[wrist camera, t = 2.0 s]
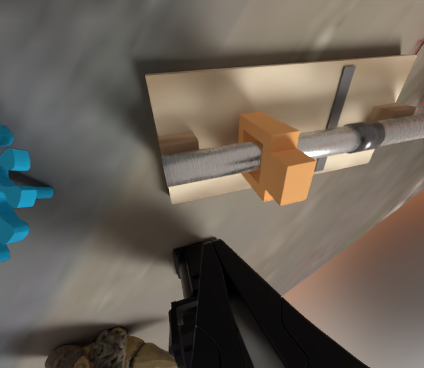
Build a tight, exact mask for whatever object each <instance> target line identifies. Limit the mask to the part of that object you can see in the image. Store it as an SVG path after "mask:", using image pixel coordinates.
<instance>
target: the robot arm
mask: <svg viewBox="0 0 424 368" xmlns="http://www.w3.org/2000/svg"><path fill="white" fill-rule="evenodd" d="M173 257H174V261H175V265H176V269H177V273H178V277H179V279H181V283H182V289H183V295H184V299H183V300H180V301H177V302H176V301H174V302H171V307H172V309H171V310H170V311H169V323H170V334H169V355H170V356H171V357H172V358H174V359H175V363H176V365H177V367H178V368H370V367H368V366H367V365H365V364H364V363H362V362H361V361H360V360H358V359H357V358H356V357H354V356H353V355H352V354H351V353H349V352H348V351H347V350H345V349H344V348H343V347H342V346H340V345H339V344H338V343H337V342H335V341H334V340H333V339H331V338H330V337H329V336H328V335H326V334H325V333H324V332H322V331H321V330H320V329H319V328H317V327H316V326H315V325H314V324H312V323H311V322H310V321H309V320H308V319H306V318H305V317H304V316H303V315H302V314H301V313H299V312H298V311H297V310H296V309H295V308H294V307H293V306H292V305H290V304H289V303H288V302H287V301H286V300H285V299H284V298H283V297H281V295H280V294H279V293H278V292H277V291H276V290H274V289H273V288H272V287H271V286H270V285H269V284H268V283H267V282H266V281H265V280H264V279H263V278H262V277H261V276H260V275H259V274H257V273H256V272H255V271H254V270H253V269H252V268H251V267H250V266H249V265H248V264H247V263H246V262H245V261H244V260H243V259H242V258H240V257H239V256H238V255H237V254H236V253H235V252H234V251H233V250H232V249H231V248H230V247H229V246H228V245H227V244H226V243H225V242H224V241H222V240H221V239H214V240H210V241H206V242H203V243H199V244H195V245H191V246H187V247H183V248H179V249H176V250H174V251H173Z"/></svg>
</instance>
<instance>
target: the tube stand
mask: <svg viewBox="0 0 424 368" xmlns="http://www.w3.org/2000/svg"><path fill="white" fill-rule="evenodd" d="M416 56H417V55H391V56H378V57H365V58H352V59H339V60H325V61H312V62H299V63H286V64H273V65H259V66H246V67H233V68H220V69H207V70H193V71H180V72H167V73H154V74H145V77H146V82H147V87H148V92H149V96H150V101H151V106H152V111H153V116H154V120H155V125H156V130H157V135H158V141H159V147H160V151H161V158H162V163H163V168H164V173H165V178H166V183H167V187H168V188H169V192H170V197H171V202H172V204H177V203H182V202H187V201H191V200H196V199H201V198H205V197H210V196H215V195H219V194H224V193H229V192H234V191H238V190H243V189H248V188H252V187H251V185H250V184H249V183H248V182H247V181H246V179H245V178H244V177H243V176H242V174H241V173H244V172H249V171H255V170H260V169H261V160H262V150H263V144H262V143H261V142H259V141H258V140H255V141H249V142H242V143H238V138H239V114H245V113H253V112H263V113H265V114H267V115H269V116H271V117H273V118H275V119H277V120H279V121H281V122H283V123H285V124H287V125H289V126H291V127H293V128H295V129H297V130H299V131H300V134H299V138H298V143H297V149H299V150H300V151H302V152H304V153H305V154H307V155H308V156H310V157H312V158H313V159H315V160H317V163H316V166H315V170H314V173H313V175H314V174H318V173H323V172H328V171H332V170H337V169H342V168H347V167H351V166H356V165H361V164H365V163H368V162H369V160H370V158H371V156H372V154H373V151H374V149H375V148H377V147H379V146H384V145H389V144H394V143H399V142H404V141H409V140H415V139H420V138H424V114H417V115H415V113H416V111H417V109H418V107H412V106H407V105H402V104H397V103H396V100H397V98H398V96H399V94H400V92H401V89H402V87H403V85H404V83H405V81H406V78H407V76H408V74H409V72H410V69H411V67H412V65H413V63H414V61H415V58H416Z"/></svg>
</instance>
